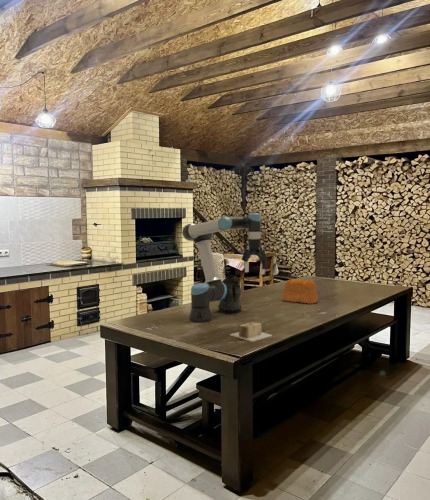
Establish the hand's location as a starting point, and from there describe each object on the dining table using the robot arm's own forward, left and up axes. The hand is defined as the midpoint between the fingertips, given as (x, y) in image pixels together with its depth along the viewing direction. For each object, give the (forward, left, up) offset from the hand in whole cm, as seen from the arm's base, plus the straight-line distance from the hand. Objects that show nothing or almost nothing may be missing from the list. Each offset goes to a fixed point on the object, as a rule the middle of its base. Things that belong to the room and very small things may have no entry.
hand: (254, 273), depth 270 cm
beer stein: (-38, +17, -33) cm, 53 cm away
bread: (-26, +79, -33) cm, 89 cm away
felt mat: (+15, -18, -33) cm, 40 cm away
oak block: (+15, -13, -29) cm, 35 cm away
